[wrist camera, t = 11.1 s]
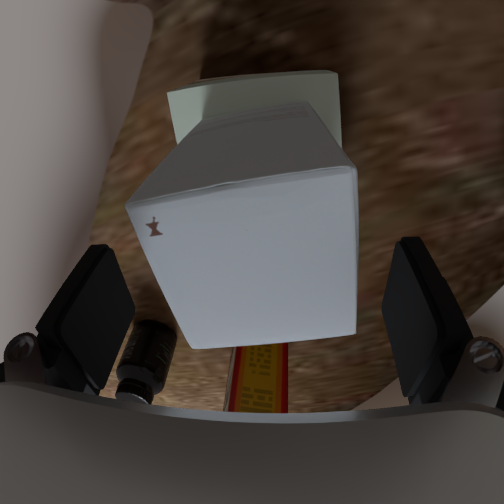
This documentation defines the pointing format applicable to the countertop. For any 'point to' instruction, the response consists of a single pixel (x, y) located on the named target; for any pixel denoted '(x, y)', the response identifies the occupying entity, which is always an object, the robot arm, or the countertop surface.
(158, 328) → the supplement bottle
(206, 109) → the tower top block
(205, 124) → the supplement box
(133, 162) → the countertop surface
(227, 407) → the baking soda box
